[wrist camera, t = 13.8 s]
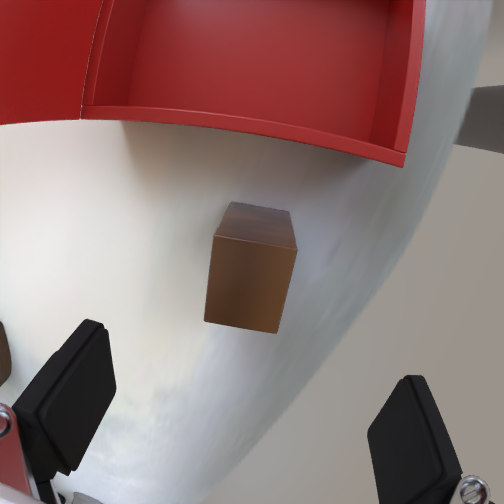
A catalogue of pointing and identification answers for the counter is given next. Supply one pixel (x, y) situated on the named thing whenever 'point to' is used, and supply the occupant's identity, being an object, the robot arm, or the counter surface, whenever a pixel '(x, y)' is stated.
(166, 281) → the counter surface
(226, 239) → the block
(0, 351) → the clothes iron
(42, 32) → the lid
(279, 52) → the red shallow rectangular box
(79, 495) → the glass holder
